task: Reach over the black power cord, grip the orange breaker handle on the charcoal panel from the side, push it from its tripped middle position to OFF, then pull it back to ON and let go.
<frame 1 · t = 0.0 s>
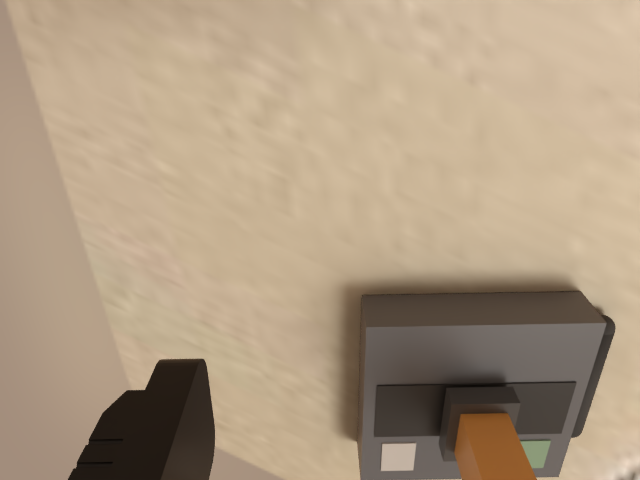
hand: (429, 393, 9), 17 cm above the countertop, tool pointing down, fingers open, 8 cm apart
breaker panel: (459, 373, 32), on the countertop
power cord: (579, 371, 32), on the countertop
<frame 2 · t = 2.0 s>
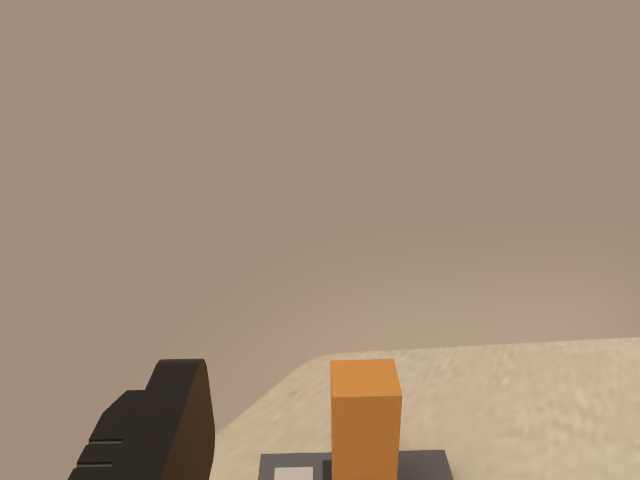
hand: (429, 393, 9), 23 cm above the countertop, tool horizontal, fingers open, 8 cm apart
breaker handle: (362, 463, 25), point 9 cm above the countertop, slide at 0.0 cm
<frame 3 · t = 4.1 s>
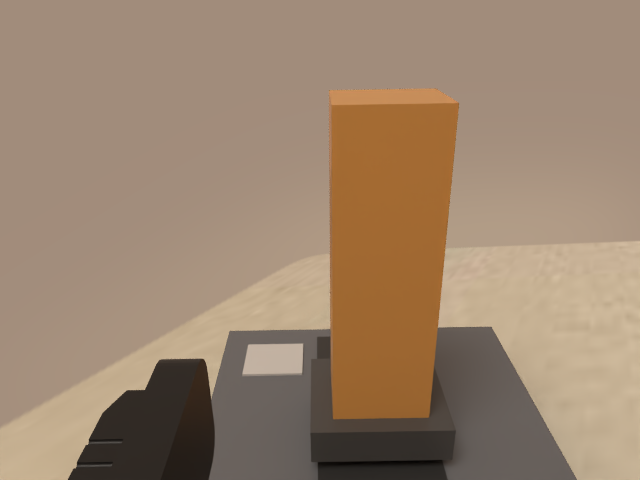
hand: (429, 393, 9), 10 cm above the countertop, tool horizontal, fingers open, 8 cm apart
breaker handle: (381, 280, 15), point 9 cm above the countertop, slide at 0.0 cm
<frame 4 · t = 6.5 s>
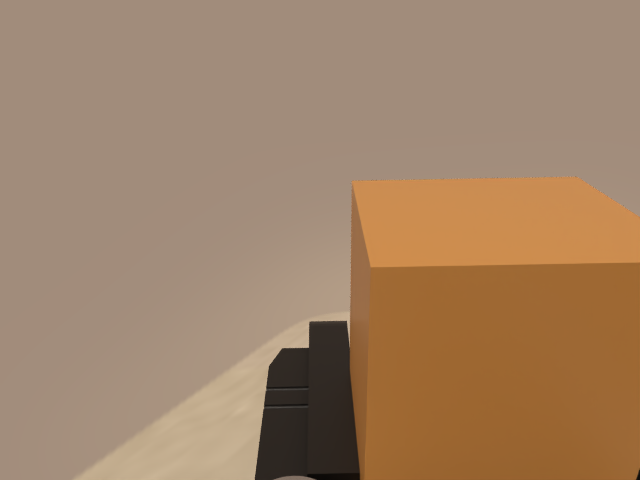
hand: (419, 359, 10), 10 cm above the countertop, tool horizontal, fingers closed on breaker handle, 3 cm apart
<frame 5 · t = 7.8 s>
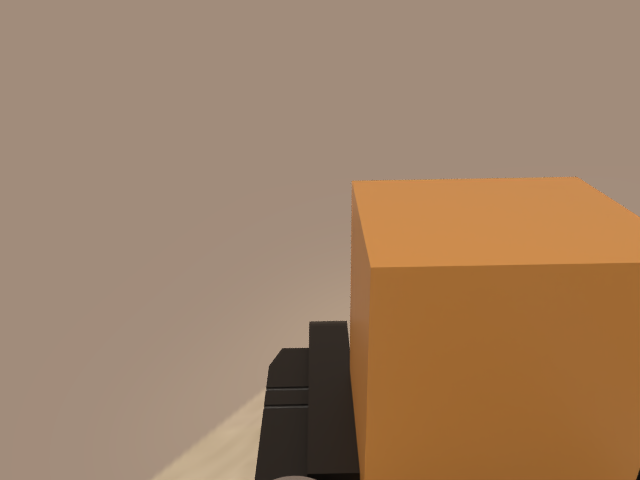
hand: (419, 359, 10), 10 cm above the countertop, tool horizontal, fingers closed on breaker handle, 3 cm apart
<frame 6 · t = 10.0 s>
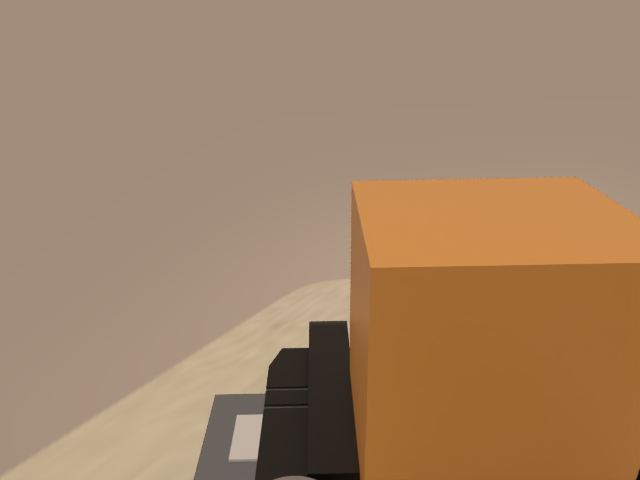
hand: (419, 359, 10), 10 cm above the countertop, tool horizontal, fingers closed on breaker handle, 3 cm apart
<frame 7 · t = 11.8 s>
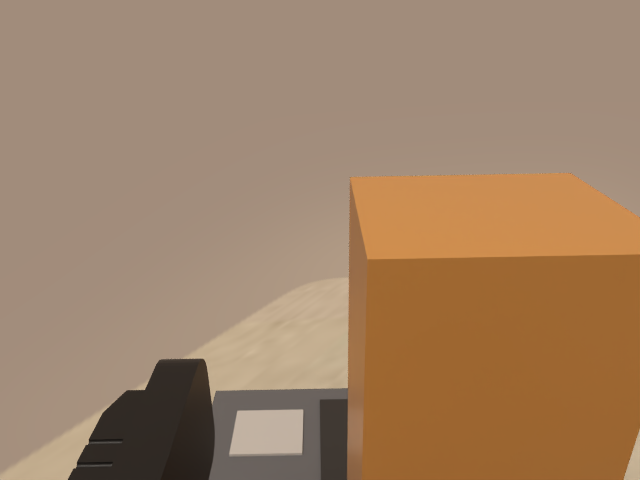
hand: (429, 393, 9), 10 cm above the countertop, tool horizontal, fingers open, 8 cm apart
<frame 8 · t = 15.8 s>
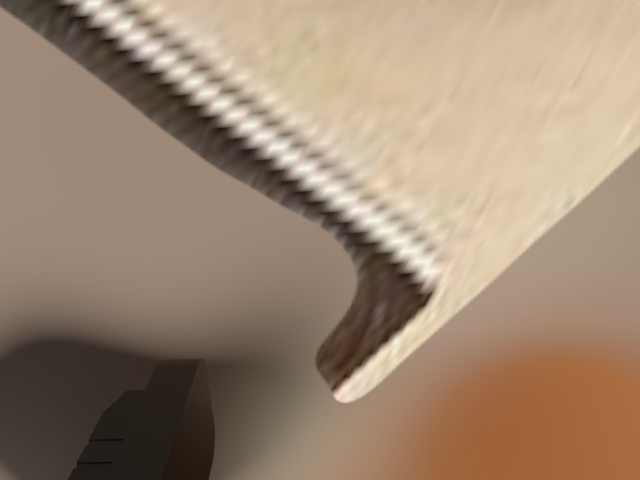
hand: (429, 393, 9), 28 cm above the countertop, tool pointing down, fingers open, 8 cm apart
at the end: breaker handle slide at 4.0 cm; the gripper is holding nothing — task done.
